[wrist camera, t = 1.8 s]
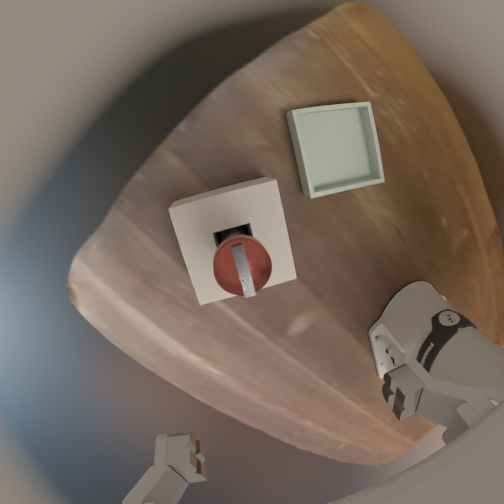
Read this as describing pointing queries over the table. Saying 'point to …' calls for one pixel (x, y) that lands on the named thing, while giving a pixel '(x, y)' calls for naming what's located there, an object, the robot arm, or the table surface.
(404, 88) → the table surface
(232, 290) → the red disc rod
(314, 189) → the tray
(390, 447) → the table surface
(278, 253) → the block
